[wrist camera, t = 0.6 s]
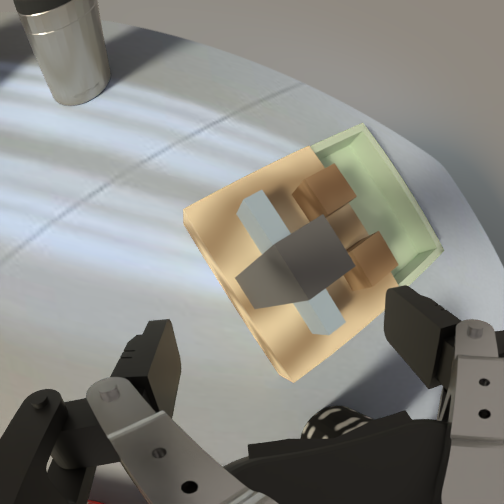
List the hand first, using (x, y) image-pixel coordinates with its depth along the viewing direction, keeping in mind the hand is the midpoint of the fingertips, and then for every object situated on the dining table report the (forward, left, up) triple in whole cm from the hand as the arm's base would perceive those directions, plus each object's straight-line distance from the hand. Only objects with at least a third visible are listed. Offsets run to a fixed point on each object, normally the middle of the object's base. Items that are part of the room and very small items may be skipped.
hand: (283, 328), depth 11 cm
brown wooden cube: (+3, +15, -19) cm, 24 cm away
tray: (-1, +23, -24) cm, 33 cm away
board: (-1, +10, -24) cm, 26 cm away
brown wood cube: (-5, +15, -19) cm, 25 cm away
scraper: (-1, +5, -19) cm, 20 cm away
